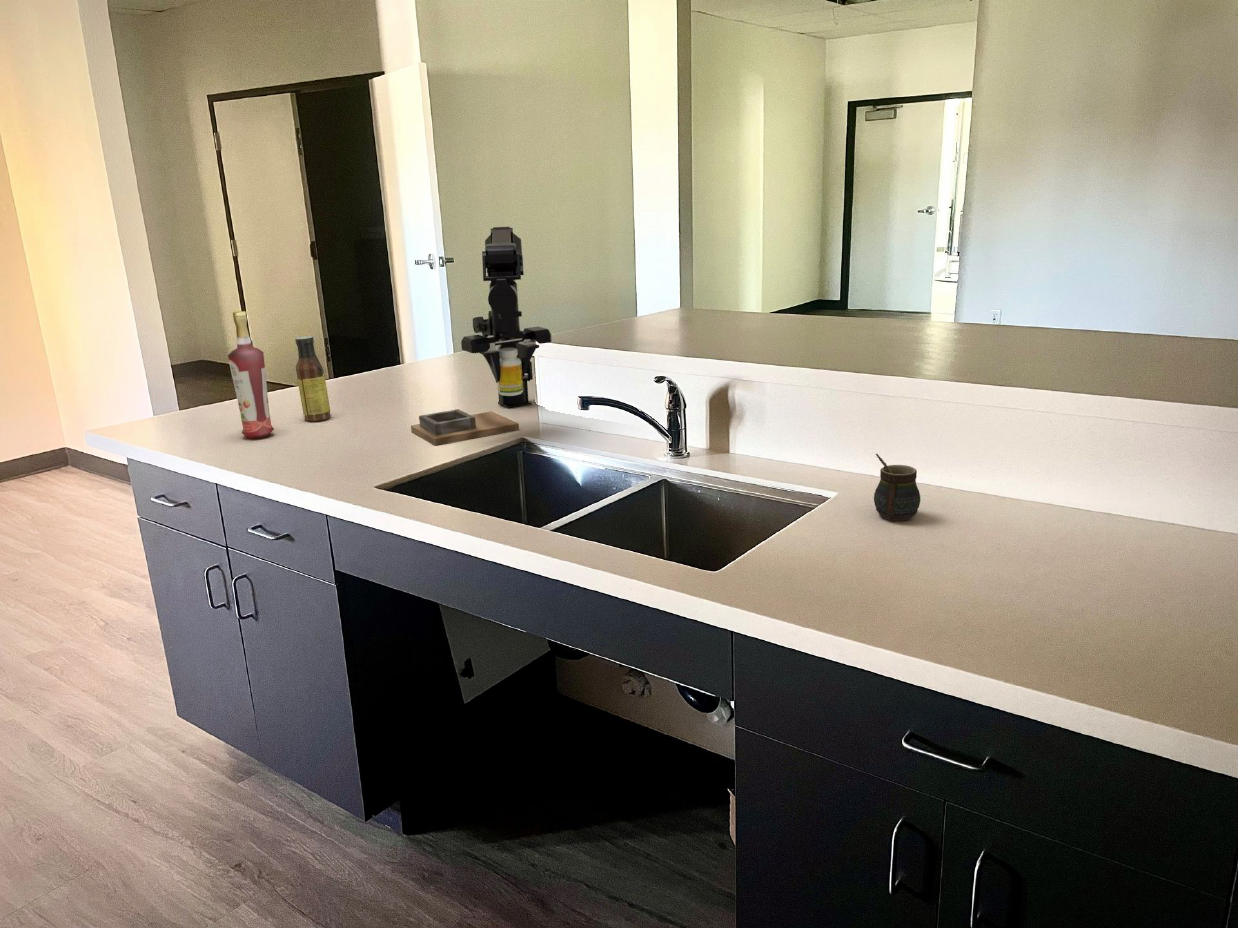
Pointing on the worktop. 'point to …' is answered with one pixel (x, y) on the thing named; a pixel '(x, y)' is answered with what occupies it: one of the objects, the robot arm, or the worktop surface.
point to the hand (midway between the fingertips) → (509, 379)
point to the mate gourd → (897, 492)
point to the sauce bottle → (311, 382)
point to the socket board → (460, 426)
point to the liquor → (250, 382)
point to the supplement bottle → (510, 373)
